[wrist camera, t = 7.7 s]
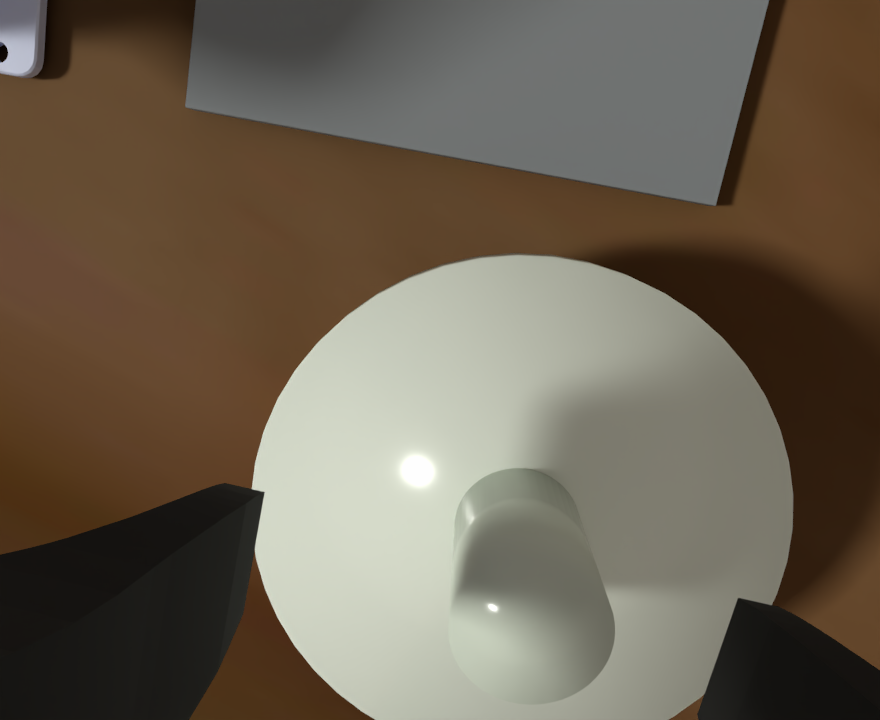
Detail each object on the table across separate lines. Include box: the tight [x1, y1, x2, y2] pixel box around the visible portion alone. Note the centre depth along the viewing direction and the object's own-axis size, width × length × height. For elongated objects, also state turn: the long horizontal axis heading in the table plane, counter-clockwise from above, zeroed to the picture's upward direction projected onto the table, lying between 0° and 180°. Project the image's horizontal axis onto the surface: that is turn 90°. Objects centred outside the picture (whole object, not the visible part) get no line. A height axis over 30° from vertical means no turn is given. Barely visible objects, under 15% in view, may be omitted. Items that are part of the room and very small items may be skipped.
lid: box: [252, 253, 793, 720], centre depth 15 cm, size 12×12×5 cm
